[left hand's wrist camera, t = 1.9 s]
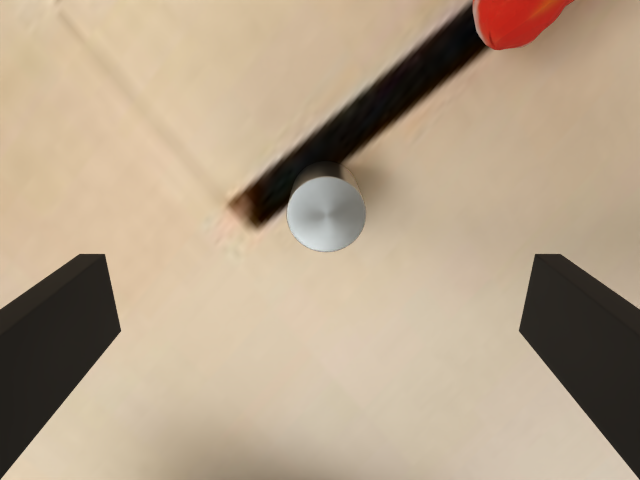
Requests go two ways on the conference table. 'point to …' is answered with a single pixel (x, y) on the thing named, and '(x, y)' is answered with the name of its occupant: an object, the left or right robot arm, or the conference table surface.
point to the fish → (514, 20)
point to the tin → (326, 207)
